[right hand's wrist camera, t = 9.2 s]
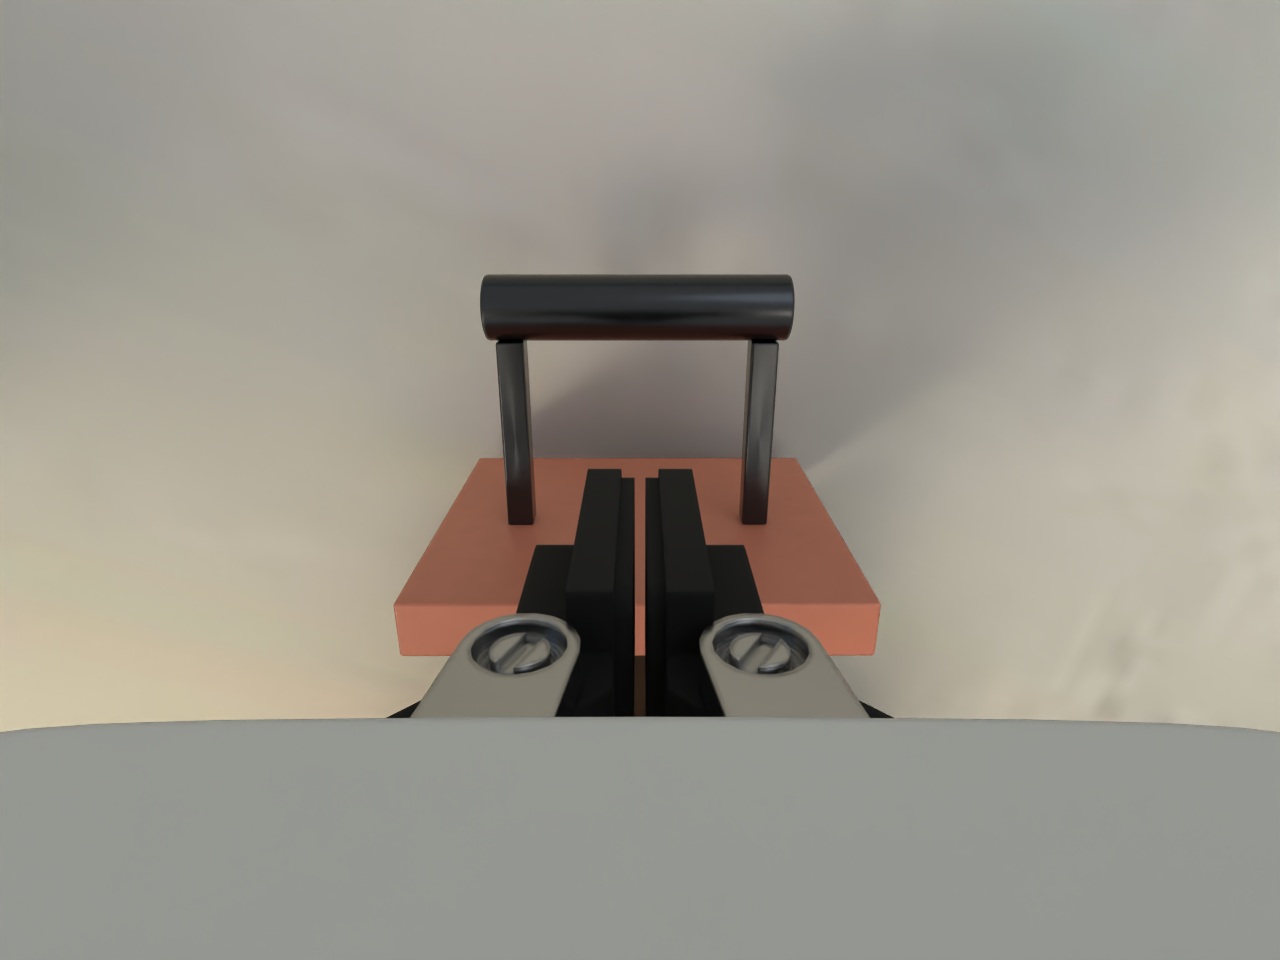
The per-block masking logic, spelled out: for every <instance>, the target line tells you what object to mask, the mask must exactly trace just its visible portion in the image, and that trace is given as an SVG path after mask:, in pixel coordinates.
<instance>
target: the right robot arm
mask: <svg viewBox="0 0 1280 960" xmlns="http://www.w3.org/2000/svg"><path fill="white" fill-rule="evenodd" d="M634 692H635V478H622V470H621V469H588V471H587V476H586V482H585V487H584V492H583V498H582V503H581V509H580V514H579V520H578V525H577V530H576V536H575V541H574V545H536V547H535V549H534V553H533V556H532V559H531V563H530V566H529V570H528V573H527V577H526V580H525V584H524V587H523V590H522V594H521V597H520V601H519V604H518V608H517V611H516V614H511V615H505V616H500V617H497V618H494V619H492V620H489V621H486V622H484V623H482V624H480V625H479V626H477V627H475V628H474V629H472V630H470V631H469V632H468V634H467V635H466V636H465V637H464V638H463V639H462V640H461V641H460V643H459V644H458V646H457V647H456V649H455V650H454V652H453V653H452V655H451V656H450V658H449V659H448V661H447V662H446V664H445V665H444V667H443V668H442V670H441V671H440V673H439V675H438V676H437V678H436V679H435V681H434V682H433V684H432V685H431V687H430V688H429V690H428V691H427V693H426V694H425V696H424V697H423V699H422V700H421V701H419V702H417V703H415V704H413V705H411V706H409V707H407V708H405V709H403V710H401V711H399V712H397V713H395V714H393V715H391V716H389V717H387V718H366V719H272V720H208V721H175V722H143V723H110V724H89V725H75V726H61V727H47V728H32V729H22V730H15V731H7V732H0V960H1280V732H1273V731H1264V730H1256V729H1247V728H1236V727H1220V726H1204V725H1188V724H1172V723H1141V722H1103V721H1065V720H1028V719H912V718H893V717H891V716H889V715H887V714H885V713H883V712H881V711H879V710H877V709H875V708H873V707H871V706H869V705H867V704H865V703H863V702H861V701H859V700H858V699H857V697H856V696H855V694H854V693H853V691H852V690H851V688H850V687H849V685H848V684H847V682H846V681H845V679H844V678H843V676H842V675H841V673H840V671H839V670H838V668H837V667H836V665H835V664H834V662H833V661H832V659H831V658H830V656H829V655H828V653H827V652H826V650H825V649H824V647H823V646H822V644H821V643H820V641H819V640H818V639H817V638H816V637H815V636H814V635H813V634H812V632H811V631H810V630H808V629H806V628H805V627H803V626H801V625H800V624H798V623H796V622H794V621H791V620H788V619H786V618H783V617H780V616H775V615H769V614H764V611H763V608H762V604H761V601H760V597H759V594H758V590H757V587H756V584H755V580H754V577H753V573H752V570H751V566H750V563H749V559H748V556H747V553H746V549H745V547H744V545H706V541H705V536H704V530H703V525H702V520H701V514H700V509H699V503H698V498H697V492H696V487H695V482H694V476H693V471H692V469H659V470H658V478H645V692H646V717H634Z"/></svg>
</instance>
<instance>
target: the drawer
mask: <svg viewBox="0 0 1280 960" xmlns="http://www.w3.org/2000/svg"><path fill="white" fill-rule="evenodd" d="M794 303H795V299H794V286H793V282H792V278H791V276H789V275H486V276H484V278H483V280H482V284H481V292H480V311H481V321H482V327H483V331H484V334H485V336H486V338H487V339H488V340H499V341H498V342H497V343H496V354H497V369H498V383H499V398H500V412H501V426H502V441H503V455H504V458H481V459H479V461H478V462H477V464H476V466H475V467H474V469H473V471H472V473H471V474H470V476H469V478H468V479H467V481H466V483H465V484H464V486H463V488H462V490H461V491H460V493H459V495H458V496H457V498H456V500H455V501H454V503H453V505H452V506H451V508H450V510H449V512H448V513H447V515H446V517H445V518H444V520H443V522H442V523H441V525H440V527H439V529H438V530H437V532H436V534H435V535H434V537H433V539H432V540H431V542H430V544H429V545H428V547H427V549H426V551H425V552H424V554H423V556H422V557H421V559H420V561H419V562H418V564H417V566H416V567H415V569H414V571H413V573H412V574H411V576H410V578H409V579H408V581H407V583H406V584H405V586H404V588H403V590H402V591H401V593H400V595H399V596H398V598H397V600H396V601H395V603H394V611H395V619H396V626H397V633H398V641H399V648H400V654H401V655H403V656H451V655H452V653H453V652H454V650H455V649H456V647H457V646H458V644H459V643H460V641H461V640H462V639H463V638H464V637H465V636H466V635H467V634H468V632H469V631H470V630H472V629H474V628H475V627H477V626H479V625H480V624H482V623H484V622H486V621H489V620H492V619H494V618H497V617H500V616H505V615H511V614H516V611H517V608H518V604H519V601H520V597H521V594H522V590H523V587H524V584H525V580H526V577H527V573H528V570H529V566H530V563H531V559H532V556H533V553H534V549H535V547H536V545H574V541H575V536H576V530H577V525H578V520H579V514H580V509H581V503H582V498H583V492H584V487H585V482H586V476H587V471H588V469H621V470H622V478H635V692H634V717H646V692H645V478H658V470H659V469H692V471H693V476H694V482H695V487H696V492H697V498H698V503H699V509H700V514H701V520H702V525H703V530H704V536H705V541H706V545H744V547H745V549H746V553H747V556H748V559H749V563H750V566H751V570H752V573H753V577H754V580H755V584H756V587H757V590H758V594H759V597H760V601H761V604H762V608H763V611H764V614H769V615H775V616H780V617H783V618H786V619H788V620H791V621H794V622H796V623H798V624H800V625H801V626H803V627H805V628H806V629H808V630H810V631H811V632H812V634H813V635H814V636H815V637H816V638H817V639H818V640H819V641H820V643H821V644H822V646H823V647H824V649H825V650H826V652H827V653H828V655H874V652H875V646H876V638H877V631H878V623H879V616H880V608H881V604H880V602H879V600H878V598H877V597H876V595H875V593H874V591H873V590H872V588H871V586H870V585H869V583H868V581H867V579H866V578H865V576H864V574H863V573H862V571H861V569H860V567H859V566H858V564H857V562H856V561H855V559H854V557H853V555H852V554H851V552H850V550H849V549H848V547H847V545H846V543H845V542H844V540H843V538H842V537H841V535H840V533H839V531H838V530H837V528H836V526H835V525H834V523H833V521H832V519H831V518H830V516H829V514H828V513H827V511H826V509H825V508H824V506H823V504H822V502H821V501H820V499H819V497H818V496H817V494H816V492H815V490H814V489H813V487H812V485H811V484H810V482H809V480H808V478H807V477H806V475H805V473H804V472H803V470H802V468H801V466H800V465H799V463H798V461H797V460H796V459H795V458H771V455H772V440H773V425H774V410H775V395H776V380H777V365H778V350H779V344H778V342H777V341H776V340H787V339H788V338H789V336H790V333H791V330H792V325H793V318H794ZM527 340H748V351H747V371H746V390H745V409H744V428H743V447H742V458H533V443H532V425H531V406H530V388H529V369H528V351H527Z"/></svg>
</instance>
